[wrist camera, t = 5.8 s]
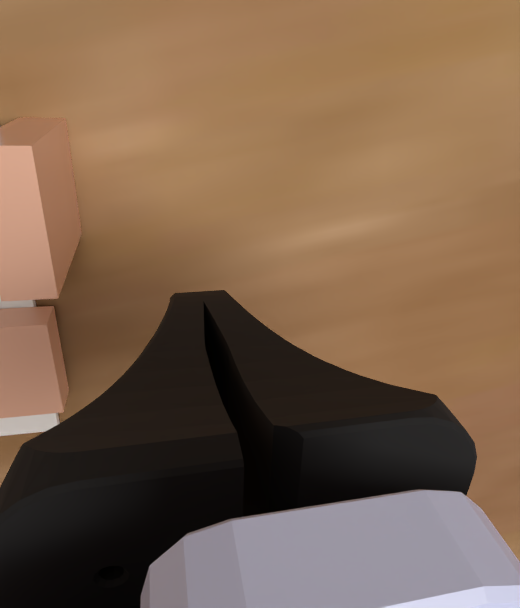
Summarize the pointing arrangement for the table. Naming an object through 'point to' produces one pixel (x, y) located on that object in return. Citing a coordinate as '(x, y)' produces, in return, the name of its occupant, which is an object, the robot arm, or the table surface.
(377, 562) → the robot arm
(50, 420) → the felt mat
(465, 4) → the table surface
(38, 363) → the tile
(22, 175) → the tile
